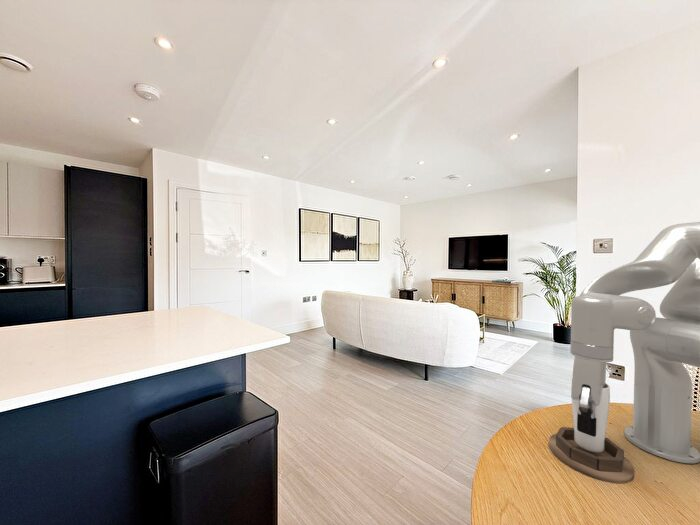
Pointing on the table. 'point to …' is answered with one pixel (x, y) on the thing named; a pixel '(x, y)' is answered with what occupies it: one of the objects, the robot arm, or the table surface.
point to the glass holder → (592, 458)
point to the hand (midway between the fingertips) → (589, 426)
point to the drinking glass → (601, 417)
